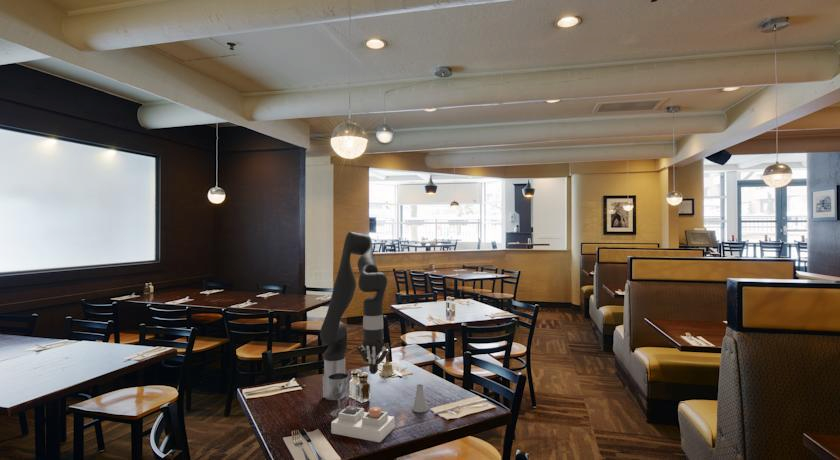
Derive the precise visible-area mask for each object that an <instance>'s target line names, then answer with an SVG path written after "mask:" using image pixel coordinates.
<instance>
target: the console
mask: <svg viewBox="0 0 840 460" xmlns="http://www.w3.org/2000/svg"><path fill="white" fill-rule="evenodd" d="M350 406H351V405H348V406H346V407H345V408H343V409H344V410H342V411H341V412H340V413H338V417H336V418H335V419H333V420H332V421H331V422H330V423H331V424H330V425H331V426H330V428H331V430H330V432H331V434H332V435H333V434H334V435H340V436H344V437H349V438H354V439H360V440H366V441H369V442H374V443H375V442H376V443H381V442H382V441H383V440H384V439H385V438H386V437H388V435H389V434H390V433H391V432H392V431H393V430H394V429H395V427H396V426H395V424H396V421H395V420H396V419H395V416H393V415H392V416H391V415H389V412H388V411H383V410H381V417H380V418H379V419H375V418H369V411H368V412H367V411H365V408H363V407H358V406H356V407H357V413H356V414H354V415H352V414H346V411H345V409H346V408H347V407H350Z"/></svg>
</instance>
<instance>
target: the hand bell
mask: <svg viewBox="0 0 840 460" xmlns="http://www.w3.org/2000/svg"><path fill="white" fill-rule="evenodd" d="M389 343H390V342H389ZM389 343H388V342H386V343H385V345H384V347H385V348H386V349H389V350H390V352H389V353H388V354H387V355H386V357H385V362H384V363H382V369H381V370H380V372H379V374H380V375H379V376H380V377H383V376H384V377H383V378H389V377H388V376H391V375H392V374H393V373H394V372H395V371H394V368H393V364H392V363H391V362H390V353H391V349H390V345H389ZM391 377H392V376H391Z"/></svg>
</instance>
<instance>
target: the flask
mask: <svg viewBox="0 0 840 460" xmlns="http://www.w3.org/2000/svg"><path fill="white" fill-rule="evenodd" d="M415 388H416V392H415V397H414V400H413V403H412V406H411V411H412V412H415V413H418V414H419V413H427V412H428V411H429V406H428V403H427V400H426V397H425V395H424V384H423V383H417V384H416V385H415Z"/></svg>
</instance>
